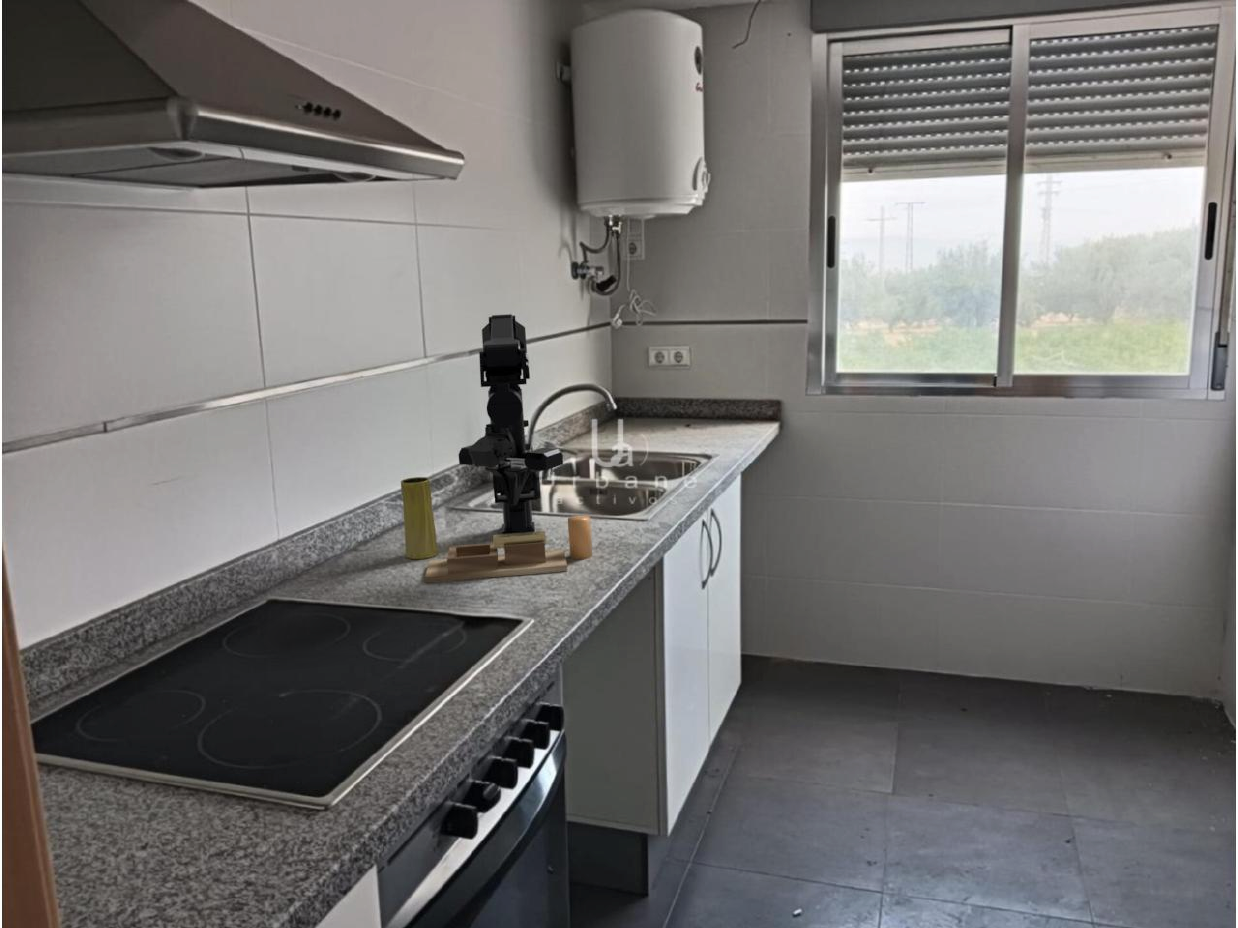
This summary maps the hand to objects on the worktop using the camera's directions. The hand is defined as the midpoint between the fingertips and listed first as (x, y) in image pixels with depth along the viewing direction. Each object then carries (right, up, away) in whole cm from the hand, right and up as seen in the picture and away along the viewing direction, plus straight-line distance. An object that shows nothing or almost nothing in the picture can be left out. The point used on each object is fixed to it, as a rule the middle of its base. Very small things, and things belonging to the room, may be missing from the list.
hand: (513, 504), depth 173 cm
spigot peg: (+12, -9, +5) cm, 16 cm away
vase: (-18, -10, +11) cm, 24 cm away
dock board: (-3, -11, 0) cm, 11 cm away
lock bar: (+1, -7, 0) cm, 7 cm away
